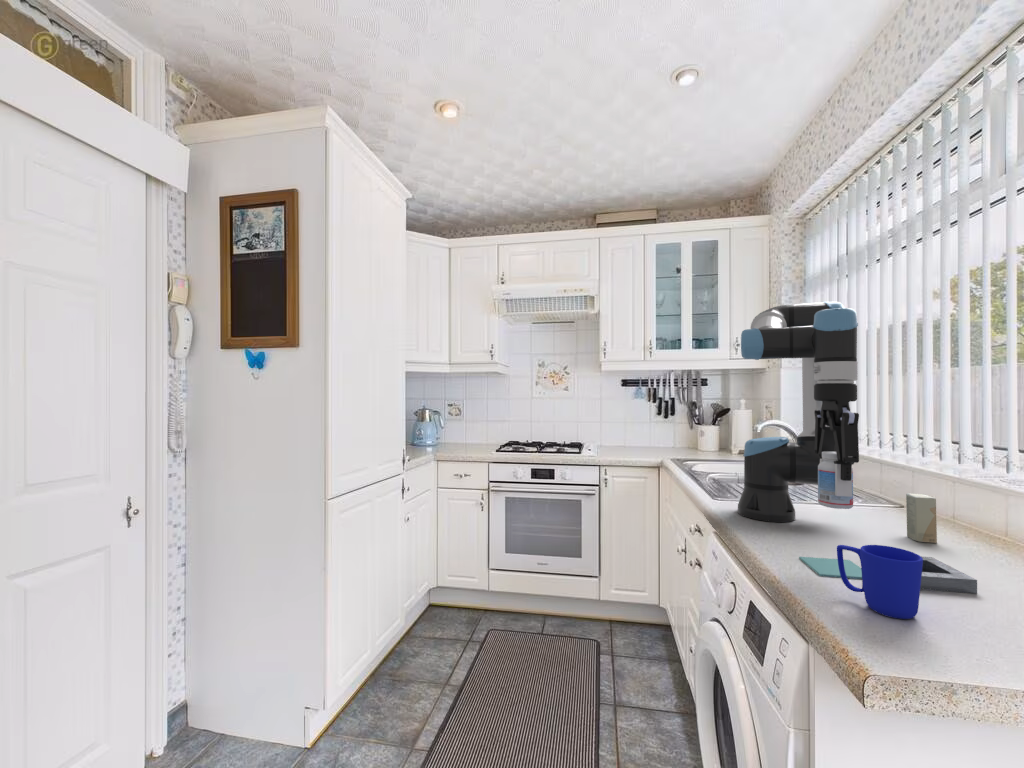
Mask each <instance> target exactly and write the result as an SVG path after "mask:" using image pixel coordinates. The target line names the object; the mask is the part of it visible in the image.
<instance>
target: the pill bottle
mask: <svg viewBox="0 0 1024 768" xmlns="http://www.w3.org/2000/svg"><path fill="white" fill-rule="evenodd" d="M822 459H823V462H821V463H820V464H819V465H818V485H817V501H818V502H817V503H818V504H819V505H820V506H823V507H826V508H829V509H830V508H831V509H838V510H839V509H841V510H842V509H844V510H849V509H853V508H854V470H853V468H852V497H847V496H836V495H835V464H834V461H836V460H837V453H836V452H833V451H824V452H822ZM837 461H838V460H837Z"/></svg>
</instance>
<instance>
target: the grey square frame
mask: <svg viewBox="0 0 1024 768" xmlns="http://www.w3.org/2000/svg"><path fill="white" fill-rule="evenodd" d="M920 556H921V557H922V558H923V566H922V576H921V586H920V590H923V591H925V590H926V591H937V592H952V593H953V592H954V593H964V594H966V593H967V594H976V595H977V594H978V579H976V578H974V577H972V576H970V575H969V574H966V573H964V572H962V571H960V570H958V569H956V568H954V567H952V566H950V565H949V564H946V563H944V562H942V561H940V560H938V559H936V558H934V557H932V556H922V555H920Z"/></svg>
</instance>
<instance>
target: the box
mask: <svg viewBox="0 0 1024 768" xmlns="http://www.w3.org/2000/svg"><path fill="white" fill-rule="evenodd" d="M905 500H906V501H905V503H906V507H905V508H906V536H907V537H908V538H910V539H912V540H913V541H915V542H919V543H921V542H923V543H933V544H937V543H938V536H937V535H938V532H937V530H938V529H937V528H938V527H937V498H936V497H932V496H930V495H927V494H924V493H923V494H921V493H910V492H909V493H906V494H905Z"/></svg>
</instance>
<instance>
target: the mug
mask: <svg viewBox="0 0 1024 768" xmlns="http://www.w3.org/2000/svg"><path fill="white" fill-rule="evenodd" d="M843 550H845V551H849V552H853V553H856V555H858V557H859V561H860V568H861V570H862V579H861V584H862V585H861V588H859V587H856V586H854V585H853V584H852V583H851V582H850V581H849V578H847V576H846V573H845V568H844V561H843V560H844V555H843V553H844V552H843ZM836 555H837V556H836V559H838V566H839V572H840V576H841V578H840V579H841V581H842V583H843V584H844V586H845V587H846V588H847V589H848V590H850V591H853V592H856V593H864V594H863V595H864V599H865V602H866V604H867V606H868V607H869V608H870V609H871V610H873V611H874V612H876V613H878V614H880V615H883V616H886V617H889V618H893V619H897V620H898V619H900V620H910V619H914V618H915V617H916V616H917V615H918V611H919V607H920V606H919V605H920V596H921V595H920V593H921V589H920V586H921V576H922V566H923V558H922V557H921V556H922V555H919V554H917V553H915V552H913V551H910V550H906V549H904V548H900V547H895V546H889V545H882V544H880V545H879V544H865V545H862V546H860V548H859V547H855V546H851V545H847V544H846V545H845V544H838V545H837V546H836Z"/></svg>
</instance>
